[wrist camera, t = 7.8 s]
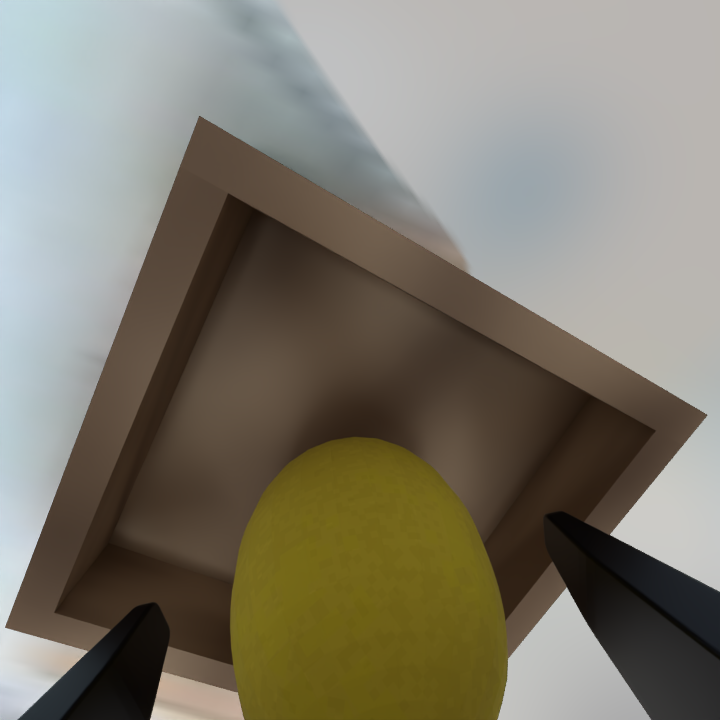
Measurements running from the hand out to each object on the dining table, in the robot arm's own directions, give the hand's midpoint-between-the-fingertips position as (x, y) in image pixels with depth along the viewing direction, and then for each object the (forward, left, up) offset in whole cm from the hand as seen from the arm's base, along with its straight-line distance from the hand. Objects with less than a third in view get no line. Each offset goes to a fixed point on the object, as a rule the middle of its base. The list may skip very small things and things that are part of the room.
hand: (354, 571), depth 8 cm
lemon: (0, 0, -4) cm, 4 cm away
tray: (0, 0, -5) cm, 5 cm away
